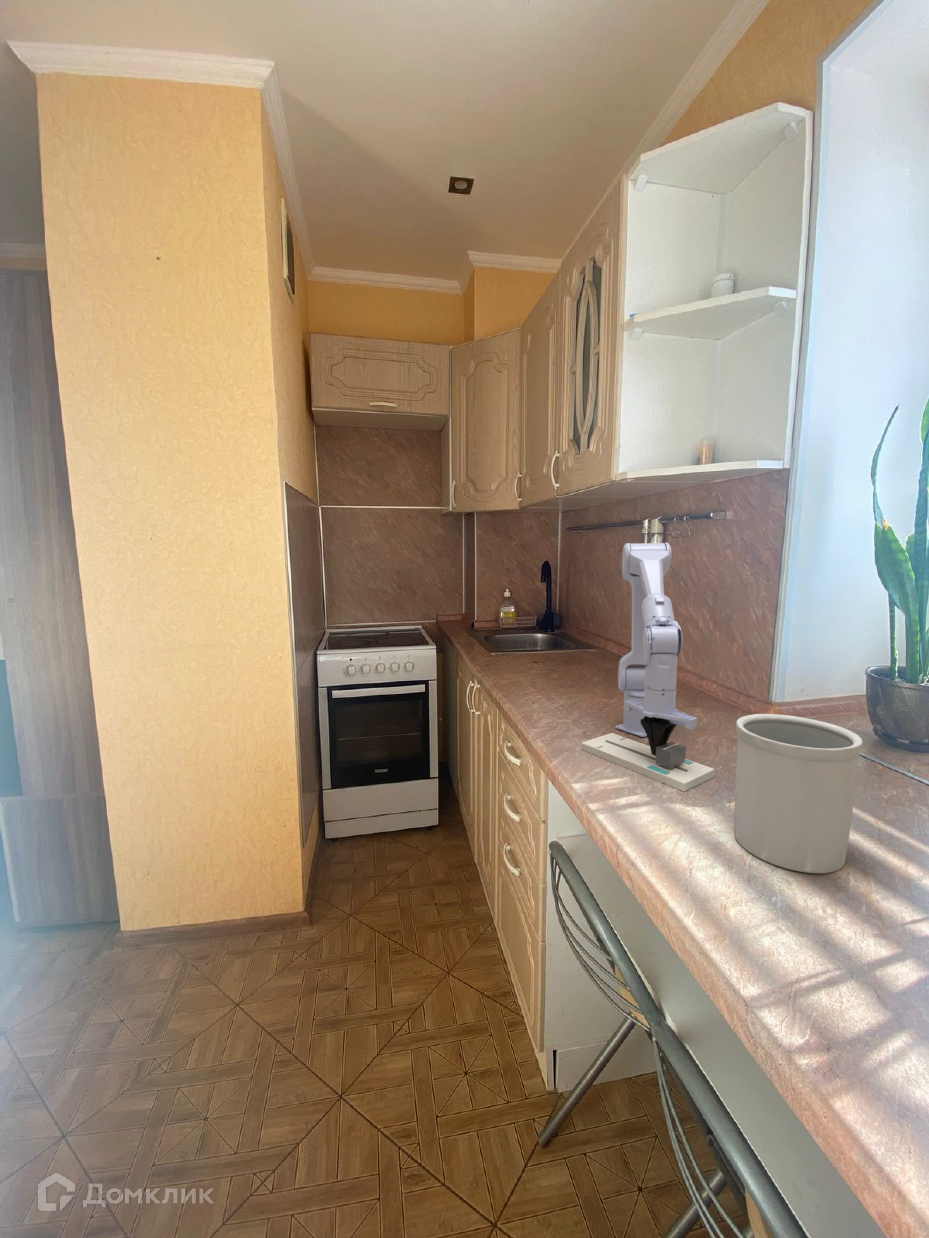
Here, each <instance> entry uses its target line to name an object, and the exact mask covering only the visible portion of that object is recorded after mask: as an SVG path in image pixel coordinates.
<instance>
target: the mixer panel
mask: <svg viewBox="0 0 929 1238" xmlns="http://www.w3.org/2000/svg"><path fill="white" fill-rule="evenodd" d="M580 746H581V747H580V749H581V750H582V751H584V752H587V753H588V754H589V753H590V754H592V755H594V756H595V757H596V756H597V757H599V758H602V759H604V760H606V761H609V762H611V763H614V764H616V765H619V766H621V767H623V768H625V769H628V770H630V771H633V772H635V773H638V774H640V775H643V776H645V777H648V778H650V779H652V780H654V781H657V782H660V783H662V784H665V785H667V786H669V787H672V788H674V789H677V790H679V791H682V792H686V791H689V790H690V789H692V788H694V787H696V786H698V785H700V784H703V783H704V782H707V781H708V780H711V779H713V778H715V776H716V775H715V773H716V772H715V771H716V769H715V768H713V767H710V766H708V765H704V764H701V763H699V762H696V761H693V760H690V759H687V758H685V762H684V763H681V764H679V765H677V766H674V767H672V768H667V767H664V766H662V765H659V764H657V763H656V756H655V755H652V753H651V748H650V745H647V744H644V743H641V742H639V741H637V740H633V739H630V738H628V737H625V736H622V735H619V734H616V733H614V732H610V733H607V734H604V735H600V736H597V737H595V738H592V739H589V740H586V741H581V745H580Z"/></svg>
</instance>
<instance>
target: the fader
mask: <svg viewBox="0 0 929 1238" xmlns="http://www.w3.org/2000/svg"><path fill="white" fill-rule="evenodd" d="M686 746H687V745H685V744H682V743H678V742H675V741H672V740H671V741H668V742H667V743H666V744H663V745H661V746H658V747H656V763H657V764H659V765H662V766H664V767H667V768H672V767H674V766H677V765H679V764H681V763H684V762H685V759H686V749H687V747H686Z"/></svg>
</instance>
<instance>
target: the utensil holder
mask: <svg viewBox="0 0 929 1238" xmlns="http://www.w3.org/2000/svg"><path fill="white" fill-rule="evenodd" d="M735 732H736V734H737V740H736V741H737V744H736V763H735V764H736V765H735V766H736V767H735V787H734V807H733V808H734V811H733V812H734V814H733V815H734V817H733V831H734V837H735V839H736V840H737V843H738V844H739V845H741V847H743V848H744V850H746V851H747V852H749V853H750V854H752V855H753V856H755V857H756V858H759V859H761V860H763V861H764V862H767V863H768V864H772V865H775V866H778V867H780V868H783V869H787V870H790V871H796V872H800V873H801V872H802V873H806V874H807V873H808V874H829V873H832V872H835V871H838V870H841V869H842V868H843V866H844V865H845V864H846V858H847V852H848V844H849V839H850V834H851V833H850V831H851V827H852V825H851V824H852V818H853V808H854V799H855V794H856V793H855V791H856V785H857V784H856V782H857V777H858V776H857V775H858V765H859V764H858V763H859V756H860V754H861V752H862V750H863V739H862V737H861V736H860V735H859V734H857V733H855V732H854V731H851V730H849V729H847V728H845V727H842V726H840V725H836V724H833V723H830V722H829V723H828V722H825V721H821V720H817V719H814V718H813V719H812V718H807V717H802V716H797V715H795V716H794V715H787V714H777V713H776V714H774V713H755V714H749V715H745V716H744V715H743V716H741V717H740V718H738V719H737V720H736V722H735Z"/></svg>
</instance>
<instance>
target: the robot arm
mask: <svg viewBox="0 0 929 1238" xmlns="http://www.w3.org/2000/svg"><path fill="white" fill-rule="evenodd" d="M672 552H673V551H672V546H671V545H670V544H669V542H655V543H653V542H652V543H646V542H645V543H629V542H626V543H625V544H624V545H623V548H622V555H621V556H622V557H621V558H622V559H621V562H622V564H621V570H622V571H621V573H622V574H621V576H622V579H623V580H624V581H627V582H629V583H630V587H631V650H630V651H629V652H628V653H627V654H626V653H625V655H623V656H622V657H621V658H620V660H619V662H618V671H617V685H618V689H619V690H620V692H623V719H622V721H623V723H620V724H618V725H617V724H616V725H615V726H614V728H615V729H617V730H620V731H623V732H626V733H629V734H632V735H634V736H638V737H641V738H645V737H647V741H648V743H649V746H650V748H651V753H652V755H655V756H656V747H658V746H661V745H663V744H666V743H668V740H669V738H670V736H671V734H672V733H673V731H674V730H675V728H676V727H677V726H681V727H685V729H686V730H689V731H692V730H694V729H697V727H698V718H697V717H696V716H692V715H690V714H687V713H685V712H684V711H680V710H679V709H676V699H677V698H676V697H677V675H678V659H679V658H678V656H680V655H681V654H682V651H683V643H684V642H683V641H684V640H683V631H682V627H681V626H680V625H679V622H678V621H676V620H675V615H674V611H673V610H674V609H673V605H672V600H671V598H670V597H669V596H667V595H665V587H664V578H665V576H666V575H667V573H668V571H669V568H670V567H671V565H672V557H673V555H672Z"/></svg>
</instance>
